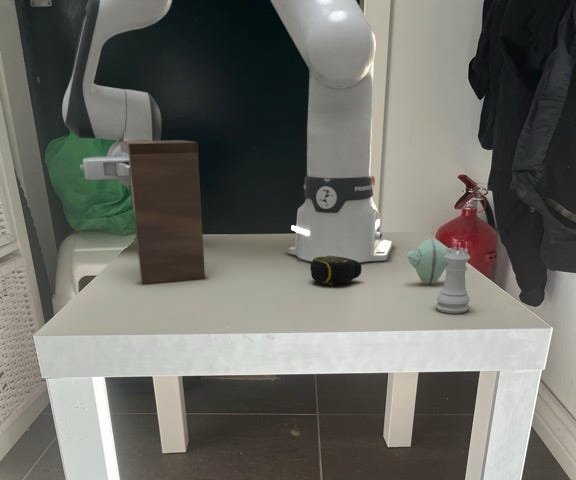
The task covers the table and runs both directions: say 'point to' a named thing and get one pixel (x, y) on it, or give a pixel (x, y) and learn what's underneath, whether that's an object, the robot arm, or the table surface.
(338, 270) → the tape measure
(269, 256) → the table surface
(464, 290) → the rook chess piece
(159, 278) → the shelf stand
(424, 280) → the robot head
